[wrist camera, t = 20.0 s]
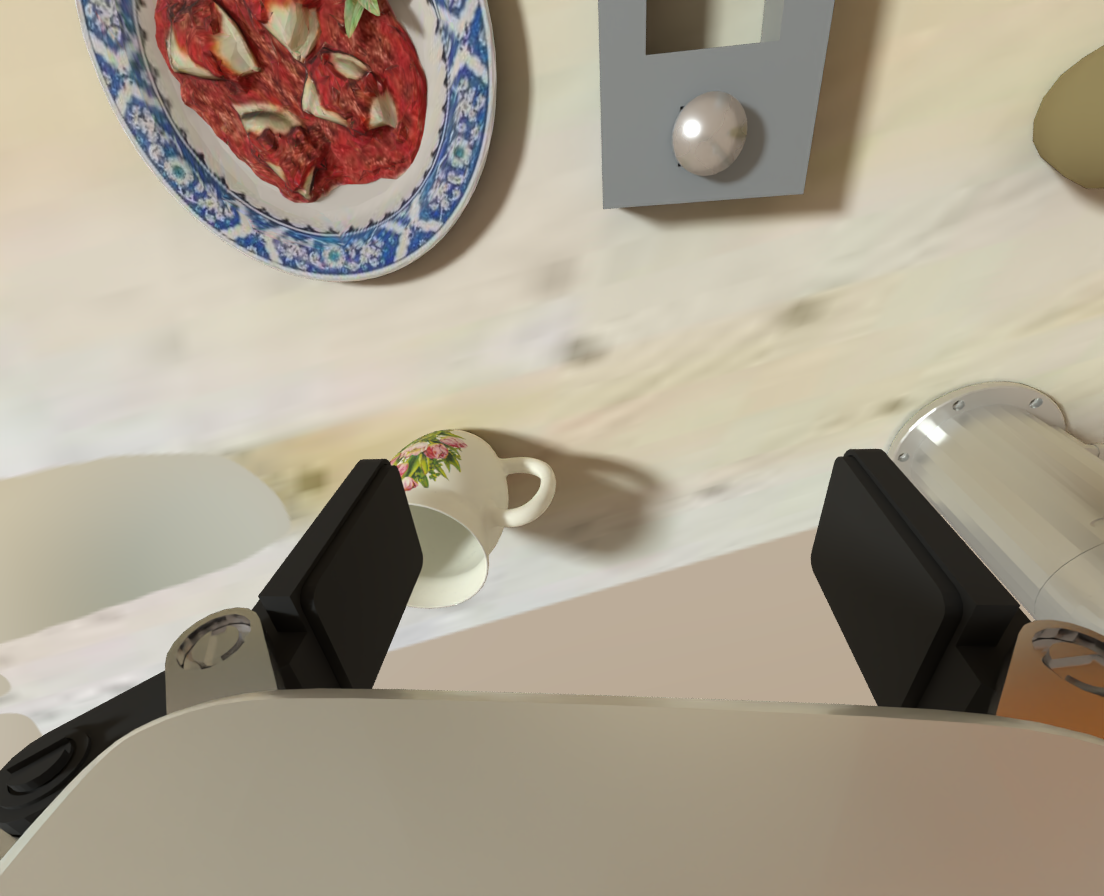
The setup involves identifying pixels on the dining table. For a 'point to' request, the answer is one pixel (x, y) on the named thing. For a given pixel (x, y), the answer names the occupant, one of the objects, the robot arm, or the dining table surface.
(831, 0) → the housing
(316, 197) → the ceramic plate
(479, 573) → the pitcher
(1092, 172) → the squeeze bottle
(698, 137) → the plunger
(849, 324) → the dining table surface
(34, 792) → the robot arm
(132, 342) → the dining table surface
